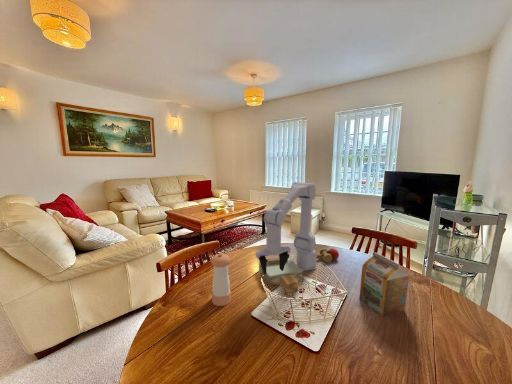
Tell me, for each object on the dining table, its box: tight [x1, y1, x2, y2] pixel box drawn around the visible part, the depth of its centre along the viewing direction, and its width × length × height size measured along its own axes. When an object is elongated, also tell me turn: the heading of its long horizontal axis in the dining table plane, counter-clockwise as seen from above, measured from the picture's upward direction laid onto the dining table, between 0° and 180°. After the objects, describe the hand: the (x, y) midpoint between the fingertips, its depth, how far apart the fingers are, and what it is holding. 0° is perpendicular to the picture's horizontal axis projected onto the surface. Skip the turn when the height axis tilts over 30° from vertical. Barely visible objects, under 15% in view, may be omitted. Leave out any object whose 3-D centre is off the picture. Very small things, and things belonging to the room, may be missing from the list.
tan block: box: [280, 275, 299, 294], centre depth 90 cm, size 5×6×4 cm
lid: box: [258, 257, 303, 278], centre depth 100 cm, size 16×14×3 cm
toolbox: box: [258, 263, 303, 287], centre depth 100 cm, size 16×14×4 cm
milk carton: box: [359, 252, 410, 318], centre depth 79 cm, size 11×11×19 cm
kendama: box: [316, 248, 340, 263], centre depth 116 cm, size 8×6×18 cm
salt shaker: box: [210, 252, 232, 307], centre depth 81 cm, size 7×7×19 cm
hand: (273, 271), depth 86 cm, fingers open, 7 cm apart
